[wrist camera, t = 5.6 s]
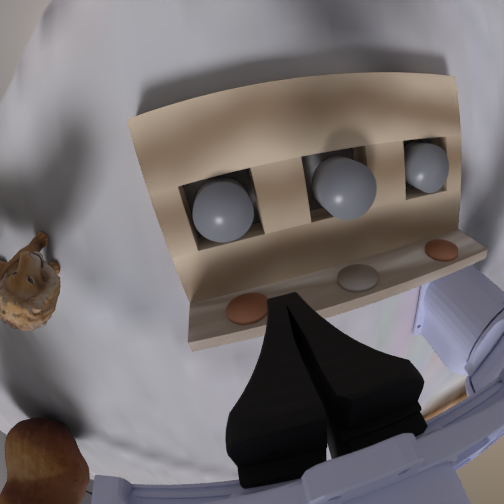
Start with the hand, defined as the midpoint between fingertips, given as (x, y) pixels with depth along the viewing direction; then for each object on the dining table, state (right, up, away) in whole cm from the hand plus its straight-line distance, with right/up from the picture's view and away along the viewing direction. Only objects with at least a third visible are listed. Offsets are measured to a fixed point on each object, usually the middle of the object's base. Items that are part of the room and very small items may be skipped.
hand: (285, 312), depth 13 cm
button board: (+4, +8, +7) cm, 11 cm away
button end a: (+11, +9, +6) cm, 16 cm away
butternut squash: (-31, -24, +18) cm, 43 cm away
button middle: (+4, +7, +5) cm, 10 cm away
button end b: (-3, +6, +6) cm, 9 cm away
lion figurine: (-20, +3, +6) cm, 21 cm away
